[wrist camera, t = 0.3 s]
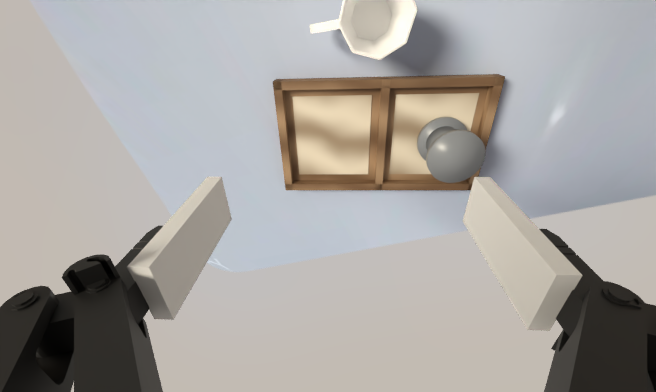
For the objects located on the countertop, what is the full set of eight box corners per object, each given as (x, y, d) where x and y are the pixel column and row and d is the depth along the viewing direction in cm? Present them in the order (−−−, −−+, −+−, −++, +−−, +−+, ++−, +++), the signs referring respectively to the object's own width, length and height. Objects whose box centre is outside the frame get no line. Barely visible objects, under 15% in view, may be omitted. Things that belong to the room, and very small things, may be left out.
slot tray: (275, 79, 36) (272, 81, 35) (498, 74, 35) (505, 76, 33) (287, 184, 44) (285, 190, 42) (469, 184, 42) (474, 190, 41)
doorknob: (420, 116, 37) (432, 132, 32) (471, 116, 37) (492, 131, 31) (414, 162, 40) (424, 183, 35) (461, 162, 40) (478, 182, 35)
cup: (402, 47, 34) (417, 53, 27) (318, 61, 35) (312, 71, 28) (401, -28, 30) (417, -42, 23) (307, -9, 31) (297, -17, 24)
